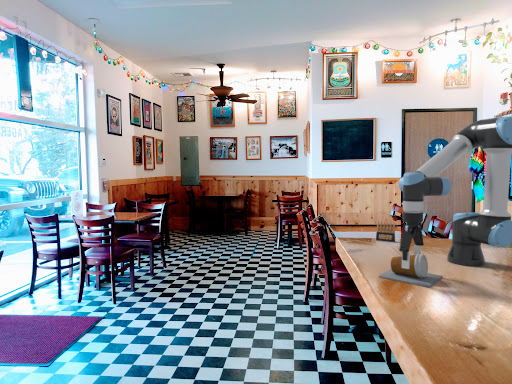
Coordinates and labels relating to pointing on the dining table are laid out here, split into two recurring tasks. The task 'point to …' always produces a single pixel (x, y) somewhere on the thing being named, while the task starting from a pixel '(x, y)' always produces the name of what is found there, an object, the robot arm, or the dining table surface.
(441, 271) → the dining table surface
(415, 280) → the mat
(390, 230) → the ammunition clip
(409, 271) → the disposable coffee cup
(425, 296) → the dining table surface
